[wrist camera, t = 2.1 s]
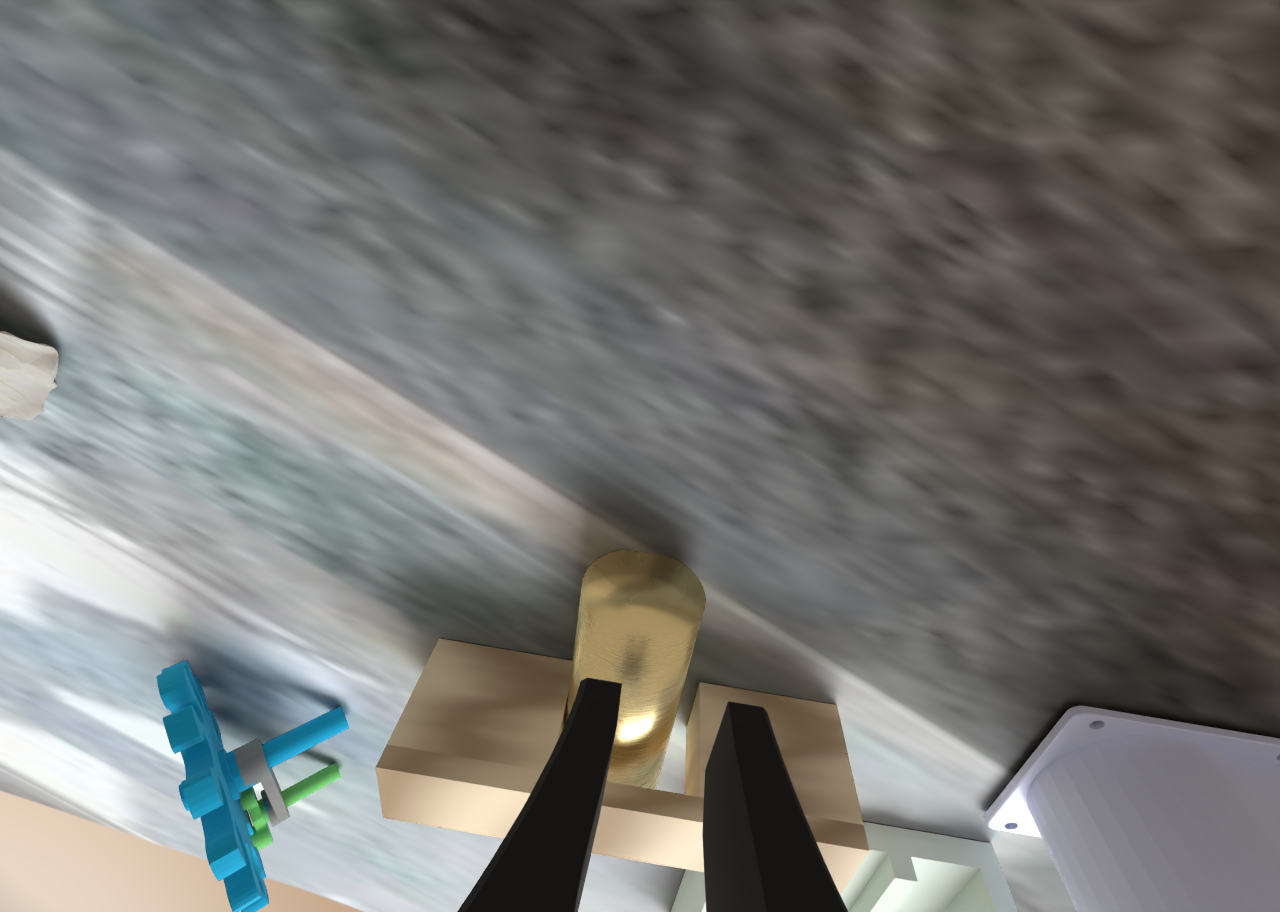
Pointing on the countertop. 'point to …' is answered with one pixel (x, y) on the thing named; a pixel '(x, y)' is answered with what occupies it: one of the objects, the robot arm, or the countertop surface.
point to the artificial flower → (25, 376)
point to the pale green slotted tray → (906, 876)
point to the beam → (630, 816)
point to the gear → (237, 783)
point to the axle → (638, 651)
